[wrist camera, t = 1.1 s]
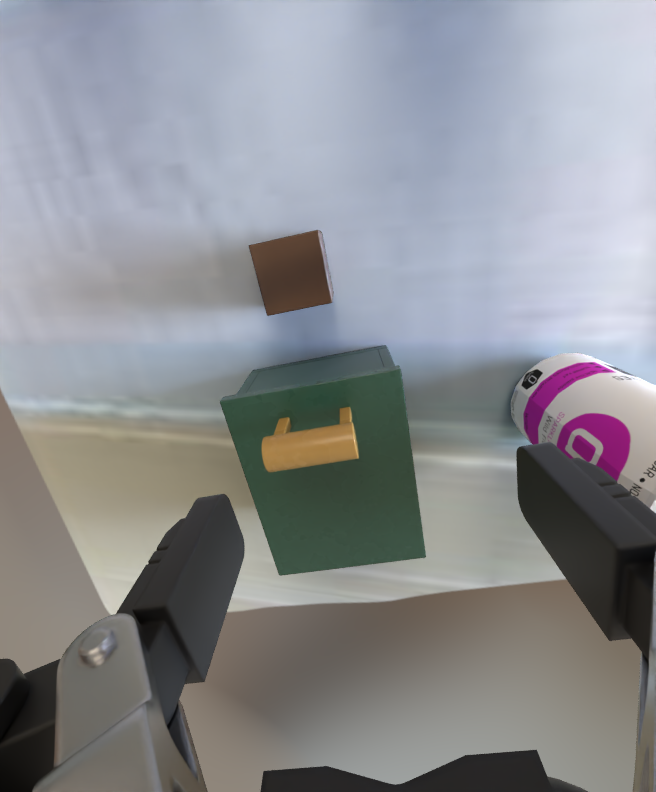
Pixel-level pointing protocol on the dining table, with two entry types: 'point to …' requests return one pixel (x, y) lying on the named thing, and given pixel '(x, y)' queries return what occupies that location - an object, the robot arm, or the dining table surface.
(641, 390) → the supplement can
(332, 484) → the tin lid
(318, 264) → the walnut block
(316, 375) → the tea tin
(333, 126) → the dining table surface
